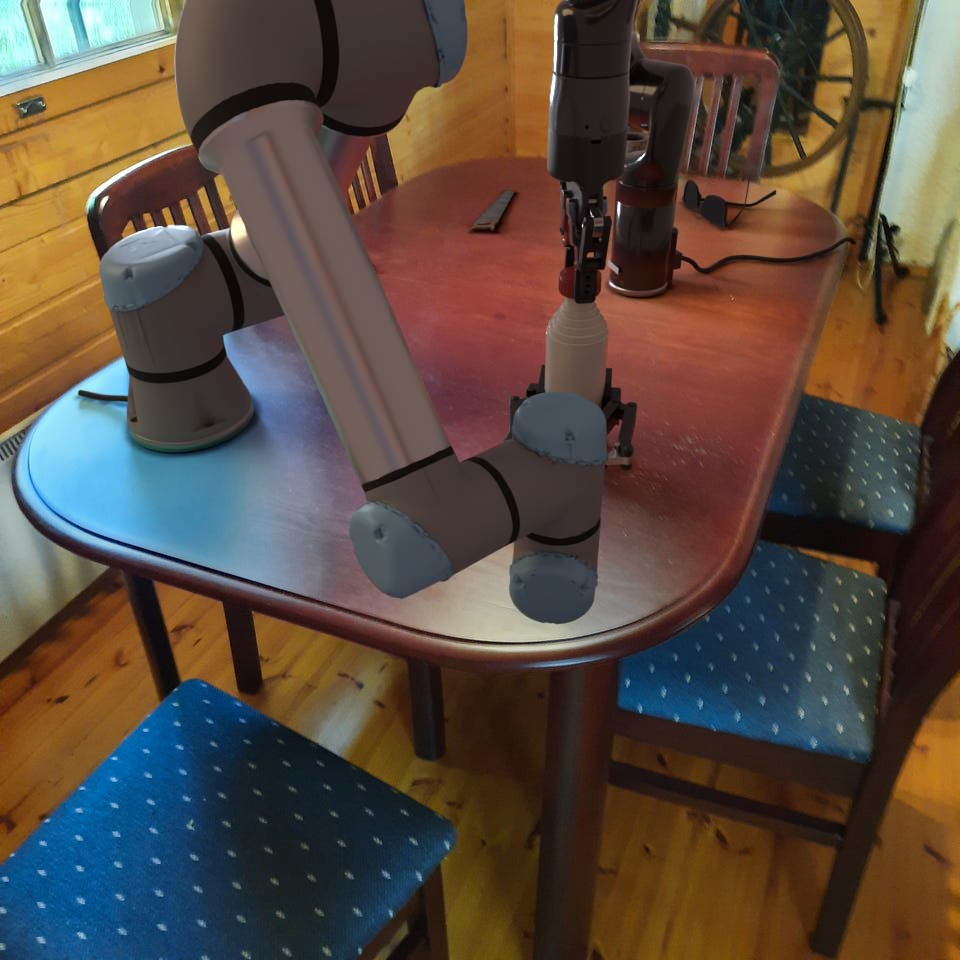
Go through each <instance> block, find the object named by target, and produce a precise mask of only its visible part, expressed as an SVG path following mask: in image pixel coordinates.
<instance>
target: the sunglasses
mask: <svg viewBox="0 0 960 960" xmlns="http://www.w3.org/2000/svg"><path fill="white" fill-rule="evenodd" d="M750 180H751V175H748V180H747V187H746V192H745V199H744V203H739V202H733V201H727V200H725V199H724V198H722V197H721V196H719V195H716V194H708V195H706V196H705V197H702V194H701V192H700V190H699V186H698V185H697V183H696V182H695V181H694V180H693V179H688V180H687V181H686V183H685V186H684V188H683V195H682V196H681V200H682V202H683V203H684V205H685V206H686V208H688V209H690V211H693V212H695V213H697V214H698V215H700V216H701V217H702V218H703V219H705V220H706V221H707V222H709V223H711V224H713V225H716V226H718V227H722V228H728V227H730V226H732V225H733V224H734V223H735V222H736V221H737V220H738V218H739V217H740V216H741V215H742V213H743V212H744V209H745V208H751V207H755V206H757V205H760V204H762V203H763V202H765V201H767V200H769V199H770V198H772V197H774V196H776V195H777V189H774V190H773V191H771V192H769V193H768V194H766V195H765V196H763V197H761V198H760V199H758V200H757V201H754V202H752V203H747V199H748V193H749V187H750V182H751V181H750ZM701 202H702V203H701ZM728 206H732V207H738V208H739V207H740V208H741V209H740V211H739V212H738V213H737V214H736V215H735V216H734V217H733V218H732V219H731V220H730V221H729V222H727V218H728Z"/></svg>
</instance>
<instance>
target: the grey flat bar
mask: <svg viewBox="0 0 960 960" xmlns="http://www.w3.org/2000/svg"><path fill="white" fill-rule="evenodd" d="M514 193H515V190H509V189H505V190H504V191H503V192H502V194H501V195H500V196H499V197H498V198H496V200H495V201H493V202H492V203H491V204H490V206H489V207H488V208H486V209H485V211H484V212H483V213H482V214H481V215H480V216H479V217H478V218H477V219H476V220H475V221H473V223H472V225H473V226H472V227H471V228H470V232H474V231H491V232H494V231H495V228H496V226H498V224H499V222H500V219H501V217H502V215H503V213H504V212H505V210H506V208H507V206H508V205H509V202H510V201H511V199H512V197H513V195H514Z"/></svg>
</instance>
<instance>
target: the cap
mask: <svg viewBox="0 0 960 960" xmlns="http://www.w3.org/2000/svg"><path fill="white" fill-rule="evenodd" d="M574 275H575V267H574V266H570V267H567V268H565V267H564V268H563V269H561V270H560V271H559V276H558V292H559V294H560V295H561V296H563V297H564V298H565V297H567V298H570V299H574ZM602 279H603V278H602V272H601V270H598V271H597V287H596V297H598V296H599V295H600V293H601V292H602V282H603V281H602Z"/></svg>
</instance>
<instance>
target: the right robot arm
mask: <svg viewBox="0 0 960 960" xmlns="http://www.w3.org/2000/svg"><path fill="white" fill-rule="evenodd" d="M642 3H643V0H561V1H559V3H557V5H556V6H555V9H554V14H553V15H554V16H553V25H552V26H553V27H552V66H551V67H552V71H551V81H550V87H549V95H548V111H547V112H548V113H547V114H548V115H547V150H546V151H547V152H546V153H547V155H546V157H547V159H546V170H547V173H548V174H549V175H550V177H552V178H553V179H555V180H558V185H559V218H560V219H559V220H560V221H559V224H560V225H559V226H560V227H559V232H560V235H561V236H563V239H562V245H563V247H564V248H565V249H564V268H567V267H570V266H574V267H575V275H574V300H575V302H576V303H577V304H585V303H593V302H595V301H596V298H597V296H596V287H597V271H598V270H599V271H604V270H605V269H606V265H607V267H609V276H608V281H607V282H608V283H607V286H608V288H609V289H610V290H611V291H613V292H614V293H616V294H619V295H622V296H626V297H631V298H632V297H633V298H647V297H649V298H650V297H654V296H658V295H661V294H662V293H664V292H665V291H666V290H667V289H668V288H671V287H672V286H673V279H674V271H675V270H679V269H681V268H682V261H683V262H685V263H688V264H690V265H691V266H692V267H693V269H694V270H695V271H696V272H697V273H700V274H706V273H708V274H709V273H710V272H713V271H714V270H715V269H717V268H719V267H720V266H722V265H723V264H725V263H727V262H730V261H737V260H741V261H742V260H745V261H747V260H748V261H757V262H766V263H774V264H775V263H777V264H788V263H789V264H790V263H797V262H803V261H807V260H811V259H814V258H817V257H820V256H823V255H825V254H828V253H830V252H833V251H834V250H836V249H837V248H839V247H841V245H843V244H844V243H847V242H848V243H850V244H851V245H857V244H858V243H857V241H856V240H855V239H854V238H853V237H851V236H846V237H843V238H840V239H839V240H838V241H836V242H835V243H834V244H832V245H831V246H829V247H827V248H823V249H821V250H818V251H816V252H812V253H809V254H805V255H801V256H793V257H770V256H762V255H755V254H753V255H752V254H733V255H729V256H725V257H723V258H721V259H720V260H719V259H718V261H716V262H715V263H714V264H712V265H711V266H709V267H700V265H699V264H698V263H697V262H696V261H695V259H693V258H691V257H688V256H685V255H683V252H681V251H679V250H678V249H677V245H678V238H679V237H678V235H679V229H678V227H676V226H674V225H675V217H676V207H677V200H678V199H677V198H678V188H679V181H680V180H679V179H680V173H681V169H682V166H683V163H684V161H685V157H686V154H687V148H688V141H689V136H690V130H691V129H690V128H691V124H692V118H693V112H694V106H695V98H696V83H695V82H696V81H695V77H694V74H693V71H692V70H691V69H690V67H688V66H687V65H685V64H683V63H682V64H681V63H677V62H671V61H665V60H659V59H653V58H648V57H647V56H646V55H645V54H644V52H643V50H642V47H641V45H640V42H639V39H638V35H637V30H636V20H637V16H638V14H639V11H640V8H641V6H642ZM629 128H631V129H635V130H639V131H644V132H648V134H649V135H648V141H647V145H646V149H644V150H639V151H634V152H630V153H628V154H626V145H627V133H629V132H628V131H629ZM609 181H615V195H614V208H613V219H612V217H611V216H612V215H607V214H608V212H609V202H608V201H609V200H608V196H607V195H604V186H605V185H606V184H607V183H608V182H609ZM611 231H612V234H611ZM611 235H612V238H611V248H610V249H611V251H610V260H609V259H607V258H608V257H607V256H608V251H609V244H610V237H611ZM591 253H593V256H588V255H589V254H591Z"/></svg>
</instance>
